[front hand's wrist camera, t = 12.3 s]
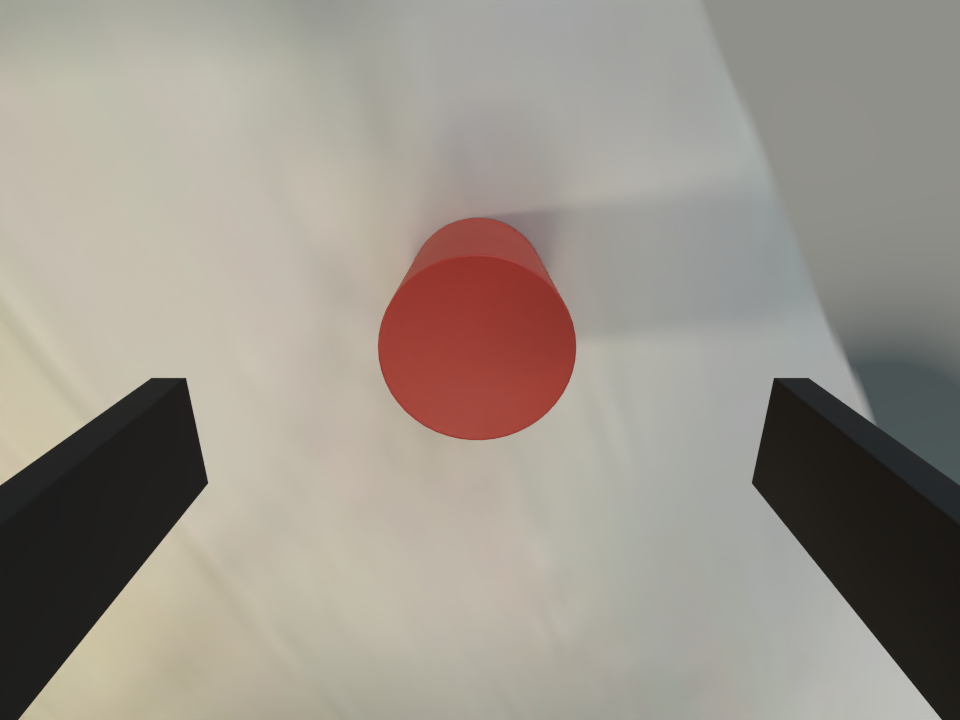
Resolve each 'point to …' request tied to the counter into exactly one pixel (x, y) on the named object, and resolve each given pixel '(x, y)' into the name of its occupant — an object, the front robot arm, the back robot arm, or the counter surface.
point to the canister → (477, 334)
